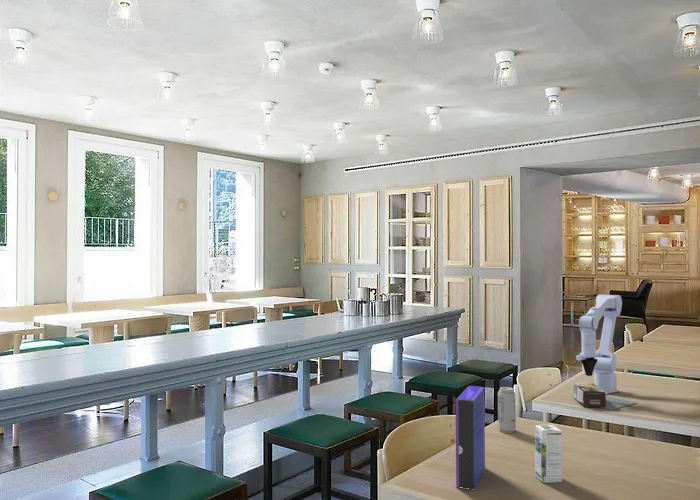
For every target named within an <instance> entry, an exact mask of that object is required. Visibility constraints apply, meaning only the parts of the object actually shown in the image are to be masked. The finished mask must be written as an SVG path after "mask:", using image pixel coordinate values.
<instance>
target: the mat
mask: <svg viewBox="0 0 700 500" xmlns="http://www.w3.org/2000/svg"><path fill="white" fill-rule="evenodd" d="M605 397H606V407H599V408H601V409H604V410H608V411H613V410H617V409H621V408H624V407H629V406H633V405H636V404H637V403H638V402H635V401H631V400H627V399H622V398H617V397H612V396H609V395H605ZM576 402H577V403H579V402H578V401H577V400H576Z"/></svg>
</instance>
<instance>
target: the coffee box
mask: <svg viewBox="0 0 700 500" xmlns="http://www.w3.org/2000/svg"><path fill="white" fill-rule="evenodd" d="M571 396H572V397H573V399H575V401H576V402H577V401H578V402H577V403H579V404H580V405H581V406H582V407H584V408H585V407H586V408H588V407H589V408H591V407H592V408H600V407H606V397H605V396H606V394H605V392H604V391H603V390H602V389H600V388H599V387H597V386H596V385H595V383H593V382H571Z"/></svg>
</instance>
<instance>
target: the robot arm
mask: <svg viewBox="0 0 700 500" xmlns="http://www.w3.org/2000/svg"><path fill="white" fill-rule="evenodd" d="M622 300H623V299H622V296H621V295H619V294H617V295H616V294H613V295H612V294H600V293H599V294H598V295H597V296H596V297H595V306H592V307H590V308H589V310H588V311H587V313H585V314H584V315H582V316H580V317H579V320H578V327H579V332H580V333H581V335H580V336H581V337H580V338H581V352H579V354H577V355H576V356H575V359H576V361H578V362H579V361H580V362H581V364H582V367H583V369H584V372H585V373H584V374H585V375H586V377H587V376H588V377H592V376H593V373H594V384H595V385H596V386H597V387H599V388H600V389H602V390H603V391H604V392H605V395H609V394H613V393H617V392H619V390H618V389H617V388H618V387H617V385H618V383H617V374H616V373H615V371H616V370H617V356H616V355H615V353H614V352H612V346H613V339H614V335H615V334H614V333H615V326H616V320H617V317H618V316H620V315H621V312H622V309H623V308H622V306H623V301H622ZM602 317H603V318H604V319H603V323H602V324H603V325H602V329H601V335H600V337H601V338H600V343H599V347H598V349H597V331H596V330H597V329H598V327H599V323H600V320H601V319H602Z"/></svg>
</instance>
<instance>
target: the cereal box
mask: <svg viewBox="0 0 700 500" xmlns="http://www.w3.org/2000/svg"><path fill="white" fill-rule="evenodd" d="M485 406H486V405H485V387H484V386H477V385H468V386H467V387H466V388H464V390H463V391H462V392H461V393H460V395H458V397H457V398H456V399H455V474H456V475H455V477H456V478H455V486H457V487H463V488H469V489H474V488H475V489H476V487H477V485H478V483H479V481H480V479H481V477H482V476H483V473H484V471H485V469H486V447H485V446H486V432H485V431H486V427H485V424H486V423H485V418H486V417H485V415H486V414H485V410H486V409H485ZM476 484H477V485H476ZM475 486H476V487H475ZM475 489H474V490H475Z"/></svg>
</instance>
